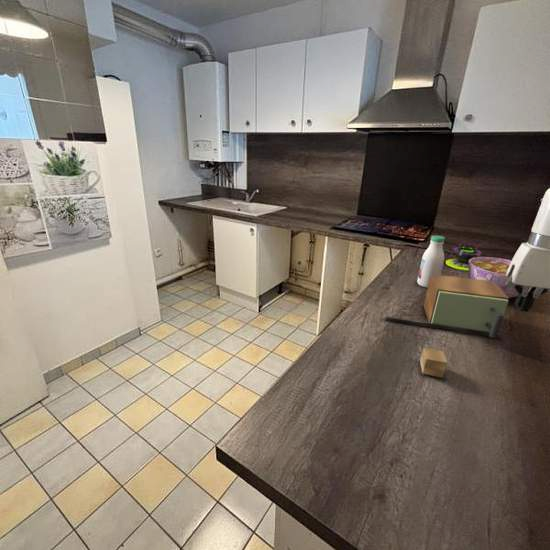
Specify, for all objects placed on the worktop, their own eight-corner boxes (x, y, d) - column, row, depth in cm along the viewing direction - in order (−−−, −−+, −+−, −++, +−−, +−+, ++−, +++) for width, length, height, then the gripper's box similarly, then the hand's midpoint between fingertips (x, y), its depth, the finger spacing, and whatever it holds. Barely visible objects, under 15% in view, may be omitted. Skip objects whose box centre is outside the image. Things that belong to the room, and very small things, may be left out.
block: (439, 365, 73) (443, 351, 71) (443, 377, 69) (447, 362, 67) (419, 362, 74) (423, 347, 72) (422, 373, 70) (426, 358, 68)
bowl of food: (466, 301, 105) (475, 271, 100) (457, 280, 122) (464, 254, 118) (534, 311, 98) (547, 280, 94) (514, 288, 115) (524, 260, 111)
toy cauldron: (489, 267, 136) (496, 245, 131) (468, 273, 129) (475, 249, 125) (458, 257, 148) (463, 236, 144) (438, 262, 142) (443, 240, 138)
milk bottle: (441, 285, 117) (453, 237, 109) (431, 290, 113) (443, 240, 105) (423, 279, 123) (433, 233, 115) (412, 283, 119) (422, 235, 111)
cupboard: (482, 314, 96) (493, 281, 92) (498, 338, 84) (512, 301, 79) (384, 300, 105) (389, 269, 100) (385, 320, 93) (391, 286, 88)
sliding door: (495, 333, 86) (507, 299, 81) (504, 346, 80) (517, 310, 75) (431, 323, 90) (439, 290, 86) (434, 335, 84) (443, 301, 80)
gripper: (578, 240, 70) (548, 306, 77) (505, 234, 74) (483, 298, 81) (599, 249, 63) (564, 321, 70) (517, 242, 67) (493, 311, 74)
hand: (521, 308), depth 76 cm, fingers closed
